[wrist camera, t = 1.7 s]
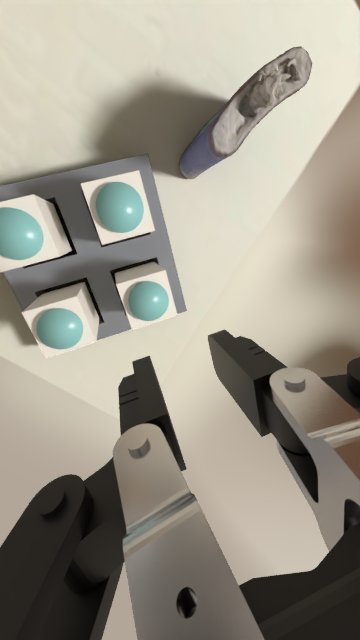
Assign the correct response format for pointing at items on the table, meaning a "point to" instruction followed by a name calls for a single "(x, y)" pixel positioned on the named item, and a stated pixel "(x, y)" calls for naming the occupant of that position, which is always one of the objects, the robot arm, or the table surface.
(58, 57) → the table surface
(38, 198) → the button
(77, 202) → the button board
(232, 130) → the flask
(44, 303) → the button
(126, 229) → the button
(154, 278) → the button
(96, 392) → the table surface
